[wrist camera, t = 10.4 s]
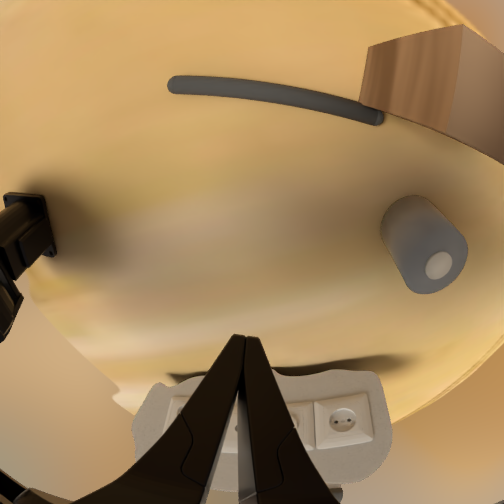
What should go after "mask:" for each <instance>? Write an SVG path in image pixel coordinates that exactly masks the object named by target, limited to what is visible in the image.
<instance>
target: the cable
mask: <svg viewBox="0 0 504 504" xmlns="http://www.w3.org/2000/svg"><path fill="white" fill-rule="evenodd" d="M167 87H168V90H169V91H170V92H171V93H173V94H191V95H208V96H221V97H232V98H241V99H250V100H257V101H264V102H271V103H277V104H283V105H289V106H295V107H300V108H305V109H310V110H315V111H319V112H324V113H328V114H332V115H336V116H340V117H344V118H348V119H352V120H355V121H359V122H363V123H366V124H369V125H373V126H377V125H380V124H381V123H382V122H383V119H384V116H383V113H382V111H381V110H378V109H374V108H371V107H368V106H365V105H362V103H360V102H356V101H353V100H349V99H345V98H342V97H338V96H334V95H330V94H325V93H321V92H317V91H312V90H307V89H302V88H297V87H292V86H286V85H280V84H274V83H267V82H260V81H252V80H244V79H234V78H222V77H206V76H174V77H172V78H171V79H170V80H169V81H168V84H167Z"/></svg>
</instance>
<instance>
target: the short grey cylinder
mask: <svg viewBox="0 0 504 504" xmlns="http://www.w3.org/2000/svg"><path fill="white" fill-rule="evenodd" d="M381 237H382V240H383V242H384V244H385V246H386V247H387V249H388V251H389V253H390V255H391V256H392V258H393V260H394V262H395V264H396V266H397V267H398V269H399V271H400V273H401V275H402V277H403V279H404V281H405V283H406V285H407V286H408V288H409V289H410V290H412V291H413V292H415V293H419V294H430V293H434V292H437V291H439V290H441V289H443V288H445V287H446V286H448V285H449V284H450V283H452V282H453V281H454V280H455V279H456V277H457V276H458V275H459V274H460V272H461V271H462V269H463V267H464V265H465V262H466V259H467V254H468V247H467V242H466V240H465V238H464V237H463V235H462V234H461V233H460V232H459V231H458V230H457V229H456V228H455V227H454V226H453V225H452V224H451V222H450V221H449V220H448V219H447V218H446V217H445V216H444V215H443V214H442V213H441V212H440V211H439V210H438V209H437V208H436V207H435V206H434V205H433V204H432V203H431V202H430V201H428V200H427V199H426V198H424V197H421V196H416V195H412V196H406V197H404V198H401V199H399V200H398V201H396V202H395V203H394V204H393V205H392V206H391V207H390V208H389V209H388V210H387V212H386V213H385V215H384V217H383V220H382V223H381Z"/></svg>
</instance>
